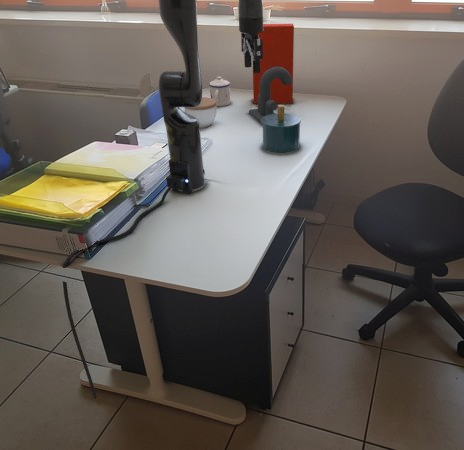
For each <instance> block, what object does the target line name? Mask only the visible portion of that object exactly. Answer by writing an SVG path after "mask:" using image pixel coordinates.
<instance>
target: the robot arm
mask: <svg viewBox="0 0 464 450" xmlns="http://www.w3.org/2000/svg"><path fill="white" fill-rule="evenodd" d="M158 10H159V17H160V19H161V21H162V23H163V25H164V27H165V29H166V30H167V31H168V33H169V35H170V36H171V37H172V39H173V40H174V42H175V43H176V46H177V47H178V49H179V51H180V53H181V56H182V59H183V64H184V67H185V68H184V69H185V70H163V71H162V72H161V73H160V75H159V78H158V93H159V94H158V95H159V100H160V105H161V110H162V116H163V123H164V125H165V126H164V127H165V130H166V137H167V138H166V139H167V147H168V154H169V155H168V156H169V160H168V167H169V168H168V169H169V175H168V176H166V177H165V178H166V179H165V180H166V186H167V189H166V190H165V191H164V193H163V194H162V197H161V200H159V202H158V203H157V204H156V205H154V206H152V207H150V208H148V209H146V210H145V211H143V212H141V214H139V215H138V216H137V217H136V219H135V220H134V222H133V223H132V225H131V226H130V227H129V228H128V229H127V230H126V231H124V232H121V233H120V234H117V235H114V236H110V237H107V238H102V239H99V240H100V241H98V240H95V241H96V242H95V241H94V242H95V243H94V244H93V245H92V246H91V247H93V246H96V245H100V244H102V243H107V242H111V241H115V240H118V239H121V238H123V237H125V236H127V235H129V234H130V233H131V232H132V231H133V230H134V229H135V228H136V227H137V225H138V223H139V221H140V220H141V219H142V218H143V217H144V216H146V215H148V214H149V213H151V212H153V211H154V210H156V209H157V208H159V207H160V206H161V205H162V204H163V203H164V201H166V198H167V196H168V193H169V192H170V191H175V192H181V193H184V194H191V193H194V192H198V191H200V190H202V189H203V188H204V187H205V186H206V181H205V175H206V171H205V169H204V161H203V150H202V149H203V148H202V137H201V128H200V124H199V120H198V119H197V118H196V117H194V116H192V115H189V114H187V113H185V110H183V109H182V108H184V107H198V106H199V105H200V103H201V100H202V97H203V81H202V80H203V79H202V72H201V71H202V70H201V63H200V54H199V53H200V52H199V41H198V5H197V0H158ZM237 10H238V31H239V32H240V37H241V39H240V43H241V47H240V48H241V53H242V54H243V59H244V60H243V61H244V67H245V68H246V69H247V68H251V67H252V74H253V73H260V60H261V59H263V40H262V39H259V38H258V33H261V32H263V24H264V3H263V0H238V9H237ZM257 55H258V56H257ZM83 251H84V250H83V249H82V250H80V251H79V250H77V249H75V250H74V251H72V252H71V253H70V254H69V255H68V256H67V258H66V259H65V261H64V262H63V265H62V269H66V268H67V267H68V266H69V263H70V262H71V260H72V259H73V257H74V256H75V255H77V254H78V253H81V252H83ZM62 288H63V297H64V303H65V309H66V312H67V317H68V322H69V325H70V328H71V332H72V335H73V338H74V342H75V345H76V348H77V350H78V351H77V352H78V354H79V357H80V359H81V363H82V365H83V368H84V371H85V374H86V377H87V380H88V383H89V386H90V390H91V393H92V396H93V399H97V398H98V396H97V393H96V389H95V386H94V382H93V379H92V376H91V373H90V370H89V367H88V364H87V360H86V357H85V355H84V352H83V349H82V345H81V343H80V340H79V337H78V333H77V329H76V327H75V322H74V319H73V314H72V310H71V305H70V298H69V292H68V284H67V282H66V281H64V280H62Z"/></svg>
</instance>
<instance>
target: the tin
mask: <svg viewBox="0 0 464 450" xmlns="http://www.w3.org/2000/svg"><path fill="white" fill-rule="evenodd" d="M300 134H301V123H300V124H299V125H297V126H294V127H289V128H273V127H268V126H265V125H262V148H263V150H265V151H267V152H270V153H274V154H275V153H276V154H288V153H292V152H295V151H297V150H298V149H299V148H300V139H301V138H300Z"/></svg>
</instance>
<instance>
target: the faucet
mask: <svg viewBox="0 0 464 450" xmlns="http://www.w3.org/2000/svg"><path fill="white" fill-rule="evenodd" d="M276 78H278V79H280V80H281V82H282V84H284V85H291V84H292V78H291V75H290V73H289V72H288V71H287V70H286V69H284V68H282V67H273V68H270V69H268V70H267V71H266V72H265V73H264V74H263V75H262V77H261V80H260V87H259V88H260V94H259V95H258V104H257V108H253V109H252V108H251V109H250V110H248V115H250V116H251V117H252V118H254V120H256V121H257V122H258V123H259V124H260V125H261V126H263V124H262V123H261V119H262V118H263V117H264V116H266V115H270V114H275V113H274V112H275V111H276V110H278V105H279V104H277V103H276V102H275V101H273V100H271V82H272V81H273V80H274V79H276Z"/></svg>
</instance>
